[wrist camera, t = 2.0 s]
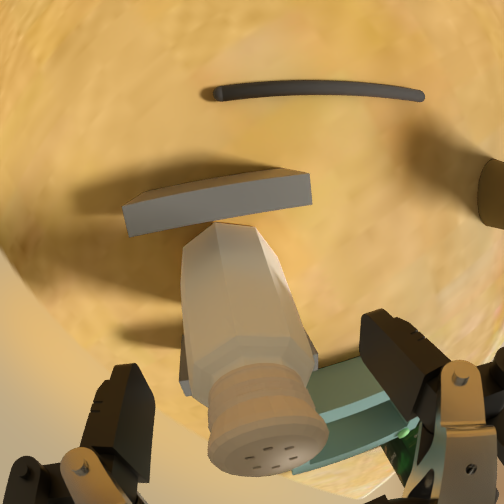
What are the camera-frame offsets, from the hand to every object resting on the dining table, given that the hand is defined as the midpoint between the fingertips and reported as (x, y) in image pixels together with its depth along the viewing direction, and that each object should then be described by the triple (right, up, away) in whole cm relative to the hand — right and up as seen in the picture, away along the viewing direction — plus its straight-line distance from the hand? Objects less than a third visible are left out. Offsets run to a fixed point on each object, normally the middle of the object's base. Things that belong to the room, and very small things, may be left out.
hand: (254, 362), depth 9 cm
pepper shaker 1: (-1, +3, +6) cm, 7 cm away
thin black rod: (+4, +12, +4) cm, 14 cm away
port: (+8, -9, +12) cm, 17 cm away
